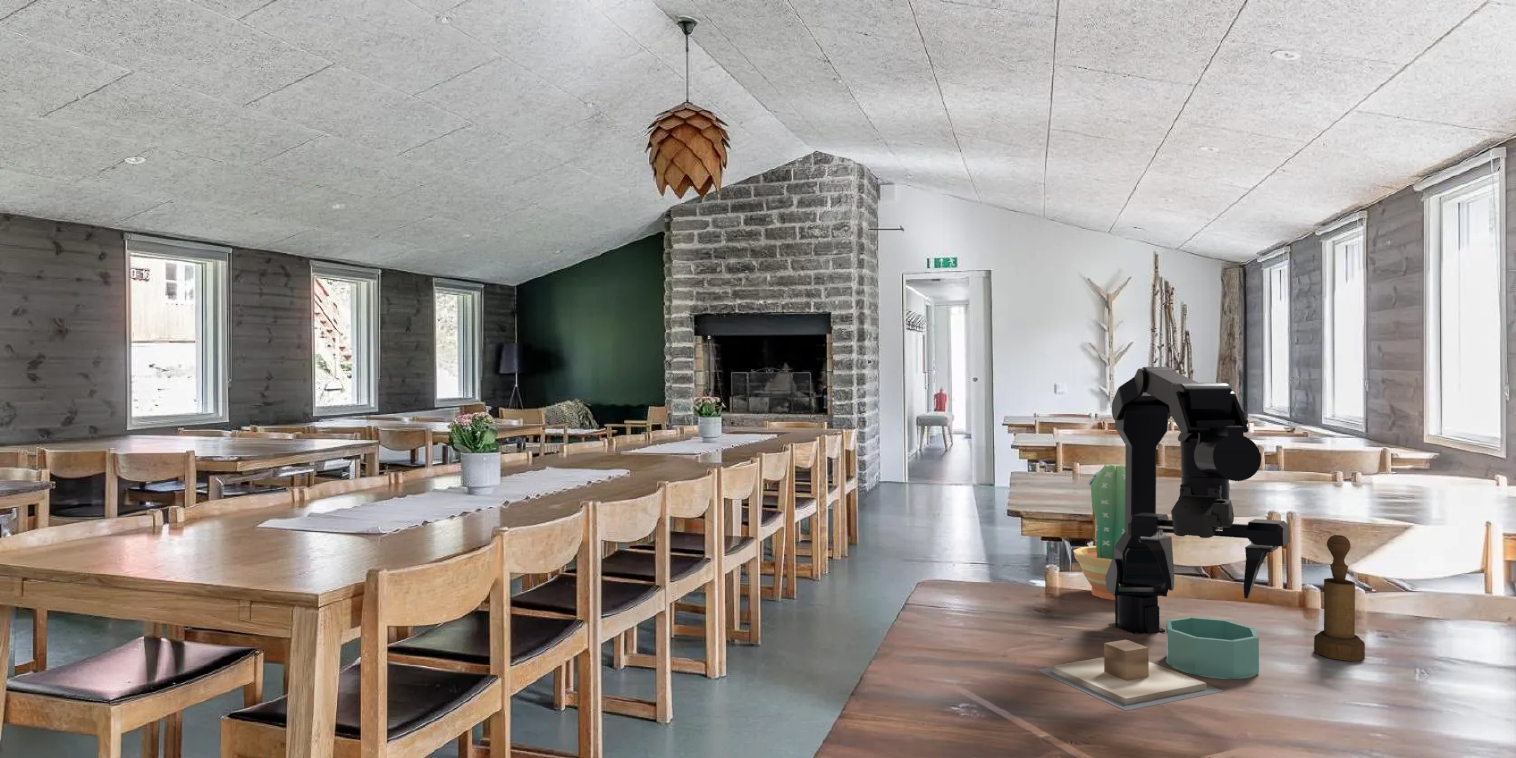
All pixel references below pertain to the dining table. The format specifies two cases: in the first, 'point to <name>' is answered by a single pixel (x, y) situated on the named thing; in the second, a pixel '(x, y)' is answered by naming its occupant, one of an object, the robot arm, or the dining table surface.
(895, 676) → the dining table surface
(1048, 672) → the mat
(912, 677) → the dining table surface
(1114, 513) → the potted cactus
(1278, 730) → the dining table surface
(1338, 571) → the brown wooden upright piece
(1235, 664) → the bowl
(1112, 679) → the lid
